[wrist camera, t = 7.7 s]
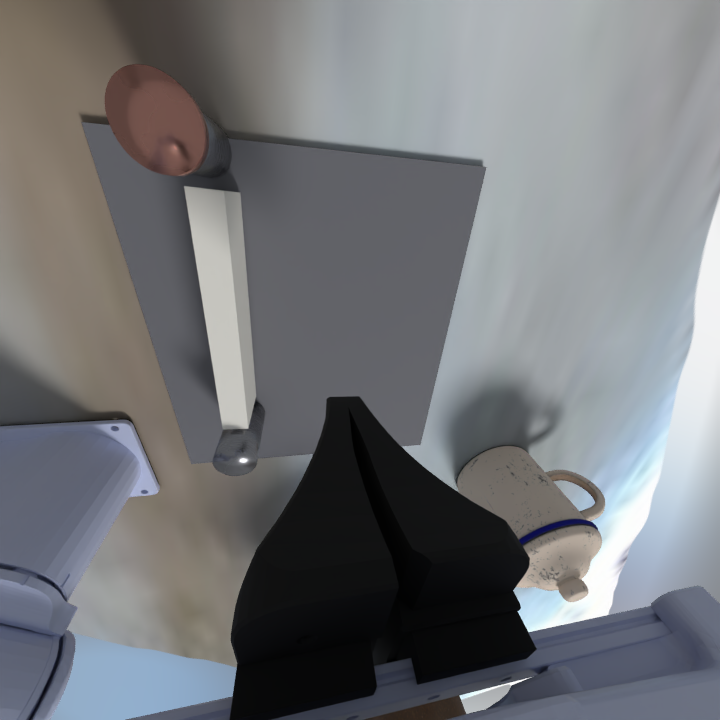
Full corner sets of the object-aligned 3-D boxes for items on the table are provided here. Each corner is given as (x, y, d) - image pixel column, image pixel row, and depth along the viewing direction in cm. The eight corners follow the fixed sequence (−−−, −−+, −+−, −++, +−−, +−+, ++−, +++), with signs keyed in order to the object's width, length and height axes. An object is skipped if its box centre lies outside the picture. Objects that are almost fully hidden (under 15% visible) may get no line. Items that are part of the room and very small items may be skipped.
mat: (192, 460, 24) (191, 463, 23) (86, 123, 13) (81, 121, 13) (419, 442, 27) (420, 444, 27) (483, 167, 16) (486, 167, 16)
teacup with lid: (460, 507, 34) (525, 634, 24) (446, 462, 29) (519, 597, 20) (554, 470, 34) (659, 584, 24) (555, 419, 29) (686, 535, 19)
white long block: (256, 395, 21) (248, 428, 18) (234, 395, 21) (222, 429, 18) (240, 192, 15) (224, 191, 12) (209, 188, 14) (183, 186, 11)
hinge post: (233, 424, 22) (216, 477, 18) (228, 398, 21) (208, 448, 17) (267, 422, 23) (258, 473, 19) (264, 396, 22) (254, 445, 17)
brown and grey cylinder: (182, 180, 14) (122, 171, 10) (168, 108, 13) (90, 56, 8) (240, 185, 15) (211, 179, 10) (232, 116, 14) (194, 72, 9)
